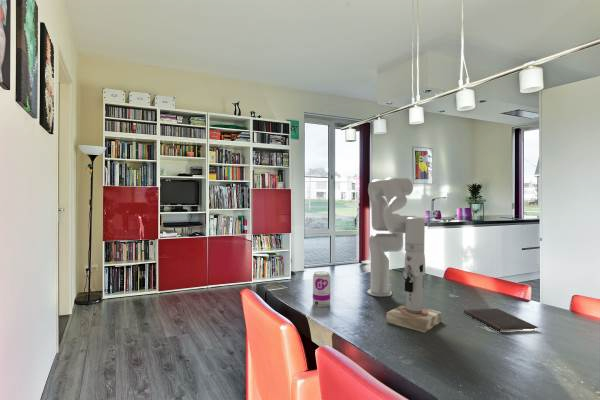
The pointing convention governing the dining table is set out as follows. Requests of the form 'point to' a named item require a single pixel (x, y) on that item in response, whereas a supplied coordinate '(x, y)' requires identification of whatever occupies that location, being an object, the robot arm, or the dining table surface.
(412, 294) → the travel mug
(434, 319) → the cream panel copper ring
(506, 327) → the hardcover book
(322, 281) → the supplement can
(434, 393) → the dining table surface
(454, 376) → the dining table surface
